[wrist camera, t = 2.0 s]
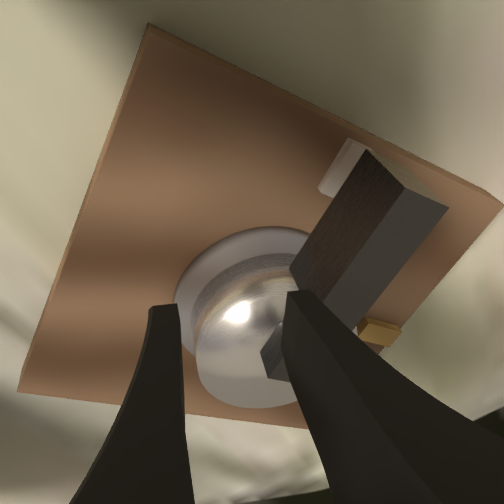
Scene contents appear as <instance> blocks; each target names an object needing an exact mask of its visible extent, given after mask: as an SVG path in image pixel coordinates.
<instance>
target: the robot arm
mask: <svg viewBox="0 0 504 504" xmlns="http://www.w3.org/2000/svg"><path fill="white" fill-rule="evenodd" d="M281 349H282V353H283V357H284V361H285V365H286V369H287V372H288V376H289V380H290V382H291V385H292V388H293V390H294V393H295V395H296V398H297V400H298V403H299V406H300V408H301V411H302V413H303V416H304V418H305V421H306V423H307V426H308V428H309V431H310V433H311V436H312V438H313V441H314V443H315V446H316V448H317V451H318V453H319V456H320V458H321V461H322V464H323V467H324V470H325V473H326V476H327V480H328V483H329V487H330V490H331V494H332V497H333V500H334V504H504V438H502V437H500V436H498V435H496V434H494V433H492V432H491V431H489V430H487V429H485V428H483V427H482V426H480V425H478V424H476V423H475V422H473V421H471V420H469V419H468V418H466V417H464V416H463V415H461V414H460V413H458V412H456V411H455V410H453V409H452V408H450V407H448V406H447V405H445V404H443V403H442V402H440V401H439V400H437V399H436V398H434V397H433V396H431V395H430V394H428V393H427V392H426V391H424V390H423V389H421V388H420V387H419V386H417V385H416V384H414V383H413V382H412V381H410V380H409V379H407V378H406V377H405V376H403V375H402V374H401V373H400V372H398V371H397V370H396V369H394V368H393V367H392V366H391V365H390V364H388V363H387V362H386V361H385V360H384V359H382V358H381V357H380V356H379V355H378V354H376V353H375V352H374V351H373V350H372V349H371V348H370V347H368V346H367V345H366V344H365V343H364V342H363V341H362V340H361V339H360V338H359V337H358V336H357V335H355V334H354V333H353V332H352V331H351V330H350V329H349V328H348V327H347V326H346V325H345V324H344V323H343V322H342V321H341V320H340V319H339V318H338V317H337V316H336V315H335V314H334V313H333V312H332V311H331V310H330V309H329V308H328V307H327V306H326V305H325V304H324V303H323V302H322V301H321V300H320V299H319V298H318V297H317V296H316V295H315V294H314V293H313V292H312V291H311V290H310V289H305V290H296V291H287V298H286V306H285V314H284V322H283V330H282V338H281ZM69 504H195V501H194V494H193V487H192V479H191V472H190V465H189V457H188V450H187V442H186V434H185V398H184V377H183V358H182V339H181V322H180V316H179V310H178V305H177V303H174V304H165V305H155V306H152V307H151V308H150V309H149V310H148V322H147V328H146V333H145V337H144V341H143V345H142V349H141V352H140V356H139V359H138V362H137V365H136V368H135V372H134V374H133V377H132V380H131V383H130V385H129V388H128V390H127V393H126V395H125V398H124V400H123V403H122V405H121V408H120V410H119V412H118V414H117V417H116V419H115V421H114V423H113V425H112V428H111V430H110V432H109V434H108V436H107V438H106V440H105V442H104V444H103V446H102V448H101V449H100V451H99V453H98V455H97V457H96V459H95V461H94V462H93V464H92V466H91V468H90V470H89V472H88V473H87V475H86V477H85V479H84V480H83V482H82V484H81V485H80V487H79V489H78V490H77V492H76V493H75V495H74V497H73V498H72V500H71V501H70V503H69Z"/></svg>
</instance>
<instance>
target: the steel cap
mask: <svg viewBox="0 0 504 504" xmlns="http://www.w3.org/2000/svg"><path fill="white" fill-rule="evenodd" d="M449 208H450V207H449V206H447V205H446V204H445V203H444V202H443V201H442V200H441V199H440V198H439V197H438V196H437V195H436V194H434V193H433V192H432V191H431V190H430V189H429V188H428V187H427V186H426V185H425V184H424V183H423V182H421V181H420V180H419V179H418V178H417V177H416V176H415V175H414V174H413V173H412V172H411V171H409V170H408V169H407V168H406V167H404V166H402V165H400V164H398V163H396V162H394V161H391V160H389V159H387V158H385V157H383V156H381V155H379V154H377V153H375V152H372V151H370V150H368V149H365V151H364V152H363V154H362V155H361V157H360V159H359V160H358V162H357V163H356V165H355V166H354V168H353V169H352V171H351V172H350V174H349V176H348V177H347V179H346V180H345V182H344V183H343V185H342V186H341V188H340V189H339V191H338V192H337V194H336V196H335V197H334V199H333V200H332V202H331V203H330V205H329V206H328V208H327V209H326V211H325V212H324V214H323V216H322V217H321V219H320V220H319V222H318V223H317V225H316V226H315V228H314V229H313V231H312V232H311V234H310V236H309V237H308V239H307V240H306V242H305V243H304V245H303V246H302V248H301V249H300V251H299V253H298V254H297V255H291V254H266V255H260V256H256V257H252V258H249V259H246V260H243V261H241V262H238V263H236V264H234V265H232V266H230V267H228V268H227V269H225V270H223V271H222V272H221V273H219V274H218V275H216V276H215V277H214V278H213V279H212V280H211V281H210V282H209V283H208V284H207V285H206V286H205V287H204V288H203V290H202V291H201V292H200V294H199V296H198V297H197V299H196V301H195V303H194V305H193V309H192V312H191V320H190V321H191V331H192V338H193V344H194V350H195V356H196V362H197V369H198V374H199V378H200V380H201V382H202V384H203V386H204V387H205V389H206V390H207V391H208V392H209V393H210V394H211V395H212V396H214V397H215V398H217V399H218V400H220V401H222V402H224V403H227V404H230V405H233V406H237V407H242V408H271V407H277V406H282V405H285V404H289V403H292V402H295V401H298V400H297V398H296V395H295V393H294V390H293V388H292V385H291V382H290V380H289V376H288V372H287V369H286V365H285V361H284V357H283V353H282V349H281V338H282V330H283V322H284V314H285V306H286V298H287V291H296V290H305V289H310V290H311V291H312V292H313V293H314V294H315V295H316V296H317V297H318V298H319V299H320V300H321V301H322V302H323V303H324V304H325V305H326V306H327V307H328V308H329V309H330V310H331V311H332V312H333V313H334V314H335V315H336V316H337V317H338V318H339V319H340V320H341V321H342V322H343V323H344V324H345V325H346V326H347V327H348V328H349V329H350V330H351V331H352V332H353V333H354V334H355V335H357V336H358V332H357V324H358V323H359V322H360V321H361V319H362V318H363V317H364V315H365V314H366V313H367V312H368V310H369V309H370V308H371V307H372V305H373V304H374V303H375V302H376V300H377V299H378V298H379V296H380V295H381V294H382V293H383V291H384V290H385V289H386V288H387V286H388V285H389V284H390V283H391V281H392V280H393V279H394V277H395V276H396V275H397V274H398V272H399V271H400V270H401V269H402V267H403V266H404V265H405V264H406V262H407V261H408V260H409V258H410V257H411V256H412V255H413V253H414V252H415V251H416V250H417V248H418V247H419V246H420V245H421V243H422V242H423V241H424V239H425V238H426V237H427V236H428V234H429V233H430V232H431V231H432V229H433V228H434V227H435V226H436V224H437V223H438V222H439V220H440V219H441V218H442V217H443V215H444V214H445V213H446V212H447V210H448V209H449Z"/></svg>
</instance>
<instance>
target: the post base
mask: <svg viewBox="0 0 504 504" xmlns="http://www.w3.org/2000/svg"><path fill="white" fill-rule="evenodd" d="M365 149H368V150H370V151H372V152H375V153H377V154H379V155H381V156H383V157H385V158H387V159H389V160H391V161H394V162H396V163H398V164H400V165H402V166H404V167H406V168H407V169H408V170H409V171H411V172H412V173H413V174H414V175H415V176H416V177H417V178H418V179H419V180H420V181H421V182H423V183H424V184H425V185H426V186H427V187H428V188H429V189H430V190H431V191H432V192H433V193H434V194H436V195H437V196H438V197H439V198H440V199H441V200H442V201H443V202H444V203H445V204H446V205H447V206H449V207H450V208H449V209H448V210H447V212H446V213H445V214H444V215H443V217H442V218H441V219H440V220H439V222H438V223H437V224H436V226H435V227H434V228H433V229H432V231H431V232H430V233H429V234H428V236H427V237H426V238H425V239H424V241H423V242H422V243H421V245H420V246H419V247H418V248H417V250H416V251H415V252H414V253H413V255H412V256H411V257H410V258H409V260H408V261H407V262H406V264H405V265H404V266H403V267H402V269H401V270H400V271H399V272H398V274H397V275H396V276H395V277H394V279H393V280H392V281H391V283H390V284H389V285H388V286H387V288H386V289H385V290H384V291H383V293H382V294H381V295H380V296H379V298H378V299H377V300H376V302H375V303H374V304H373V305H372V307H371V308H370V309H369V310H368V312H367V313H366V314H365V315H364V317H363V318H362V319H361V321H360V322H359V323H358V324H357V332H358V337H359V338H360V339H361V340H362V341H363V342H364V343H365V344H366V345H367V346H368V347H370V348H371V349H372V350H373V351H374V352H375V353H376V354H379V353H380V351H381V350H382V349H383V348H384V347H385V346H387V347H389V346H390V345H391V344H392V343H393V342H394V341H395V339H396V338H397V337H398V336H399V335H400V334H401V330H400V328H401V327H402V326H403V324H404V323H405V322H406V321H407V320H408V319H409V317H410V316H411V315H412V314H413V313H414V311H415V310H416V309H417V308H418V307H419V306H420V304H421V303H422V302H423V301H424V300H425V299H426V297H427V296H428V295H429V294H430V293H431V291H432V290H433V289H434V288H435V287H436V286H437V284H438V283H439V282H440V281H441V280H442V279H443V277H444V276H445V275H446V274H447V273H448V271H449V270H450V269H451V268H452V267H453V266H454V264H455V263H456V262H457V261H458V260H459V259H460V257H461V256H462V255H463V254H464V253H465V252H466V250H467V249H468V248H469V247H470V246H471V244H472V243H473V242H474V241H475V240H476V239H477V237H478V236H479V235H480V234H481V233H482V232H483V230H484V229H485V228H486V227H487V226H488V224H489V223H490V222H491V221H492V220H493V219H494V217H495V216H496V215H497V214H498V213H499V212H500V210H501V209H502V208H503V207H504V204H503V203H501V202H500V201H499V200H498V199H496V198H495V197H494V196H492V195H491V194H490V193H489V192H487V191H486V190H484V189H482V188H480V187H478V186H476V185H474V184H472V183H470V182H468V181H466V180H464V179H462V178H460V177H458V176H456V175H454V174H452V173H450V172H448V171H446V170H444V169H442V168H440V167H438V166H436V165H434V164H431V163H429V162H427V161H425V160H423V159H421V158H419V157H417V156H415V155H413V154H411V153H409V152H407V151H405V150H403V149H401V148H399V147H397V146H395V145H393V144H391V143H389V142H387V141H385V140H383V139H381V138H379V137H377V136H375V135H373V134H371V133H369V132H367V131H365V130H363V129H361V128H359V127H357V126H355V125H353V124H351V123H349V122H347V121H345V120H343V119H341V118H339V117H337V116H335V115H333V114H331V113H329V112H327V111H325V110H323V109H321V108H319V107H317V106H315V105H313V104H310V103H308V102H306V101H304V100H302V99H300V98H298V97H296V96H294V95H292V94H290V93H288V92H286V91H284V90H282V89H280V88H278V87H276V86H274V85H272V84H270V83H268V82H266V81H264V80H262V79H260V78H258V77H256V76H254V75H252V74H250V73H248V72H246V71H244V70H242V69H240V68H238V67H236V66H234V65H232V64H230V63H228V62H226V61H224V60H222V59H220V58H218V57H216V56H214V55H212V54H210V53H208V52H206V51H204V50H202V49H200V48H198V47H196V46H194V45H192V44H189V43H187V42H185V41H183V40H181V39H179V38H177V37H175V36H173V35H171V34H169V33H167V32H165V31H163V30H161V29H159V28H157V27H155V26H153V25H151V24H149V23H148V26H147V28H146V31H145V34H144V37H143V39H142V42H141V45H140V48H139V50H138V53H137V56H136V59H135V61H134V64H133V67H132V69H131V72H130V75H129V78H128V80H127V83H126V86H125V89H124V91H123V94H122V97H121V100H120V102H119V105H118V108H117V110H116V113H115V116H114V119H113V121H112V124H111V127H110V130H109V132H108V135H107V138H106V141H105V143H104V146H103V149H102V151H101V154H100V157H99V160H98V162H97V165H96V168H95V171H94V173H93V176H92V179H91V182H90V184H89V187H88V190H87V192H86V195H85V198H84V201H83V203H82V206H81V209H80V212H79V214H78V217H77V220H76V223H75V225H74V228H73V231H72V233H71V236H70V239H69V242H68V244H67V247H66V250H65V253H64V255H63V258H62V261H61V264H60V266H59V269H58V272H57V274H56V277H55V280H54V283H53V285H52V288H51V291H50V294H49V296H48V299H47V302H46V305H45V307H44V310H43V313H42V316H41V318H40V321H39V324H38V326H37V329H36V332H35V335H34V337H33V340H32V343H31V346H30V348H29V351H28V354H27V357H26V359H25V362H24V365H23V367H22V371H21V376H20V381H19V385H18V390H17V392H21V393H29V394H37V395H44V396H52V397H60V398H68V399H76V400H84V401H91V402H99V403H107V404H115V405H122V403H123V400H124V398H125V395H126V393H127V390H128V388H129V385H130V383H131V380H132V377H133V374H134V372H135V368H136V365H137V362H138V359H139V356H140V352H141V349H142V345H143V341H144V337H145V333H146V328H147V322H148V310H149V309H150V308H151V307H152V306H155V305H165V304H174V303H177V305H178V310H179V316H180V322H181V339H182V358H183V377H184V398H185V414H193V415H201V416H208V417H216V418H224V419H232V420H240V421H247V422H255V423H263V424H271V425H279V426H286V427H294V428H302V429H309V428H308V426H307V423H306V421H305V418H304V416H303V413H302V411H301V408H300V406H299V403H298V401H295V402H292V403H289V404H285V405H282V406H277V407H271V408H242V407H237V406H233V405H230V404H227V403H224V402H222V401H220V400H218V399H217V398H215V397H214V396H212V395H211V394H210V393H209V392H208V391H207V390H206V389H205V387H204V386H203V384H202V382H201V380H200V378H199V374H198V369H197V362H196V356H195V350H194V344H193V338H192V331H191V321H190V320H191V312H192V309H193V305H194V303H195V301H196V299H197V297H198V296H199V294H200V292H201V291H202V290H203V288H204V287H205V286H206V285H207V284H208V283H209V282H210V281H211V280H212V279H213V278H214V277H215V276H216V275H218V274H219V273H221V272H222V271H223V270H225V269H227V268H228V267H230V266H232V265H234V264H236V263H238V262H241V261H243V260H246V259H249V258H252V257H256V256H260V255H266V254H291V255H297V254H298V253H299V251H300V249H301V248H302V246H303V245H304V243H305V242H306V240H307V239H308V237H309V236H310V234H311V232H312V231H313V229H314V228H315V226H316V225H317V223H318V222H319V220H320V219H321V217H322V216H323V214H324V212H325V211H326V209H327V208H328V206H329V205H330V203H331V202H332V200H333V199H334V197H335V196H336V194H337V192H338V191H339V189H340V188H341V186H342V185H343V183H344V182H345V180H346V179H347V177H348V176H349V174H350V172H351V171H352V169H353V168H354V166H355V165H356V163H357V162H358V160H359V159H360V157H361V155H362V154H363V152H364V151H365Z"/></svg>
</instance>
